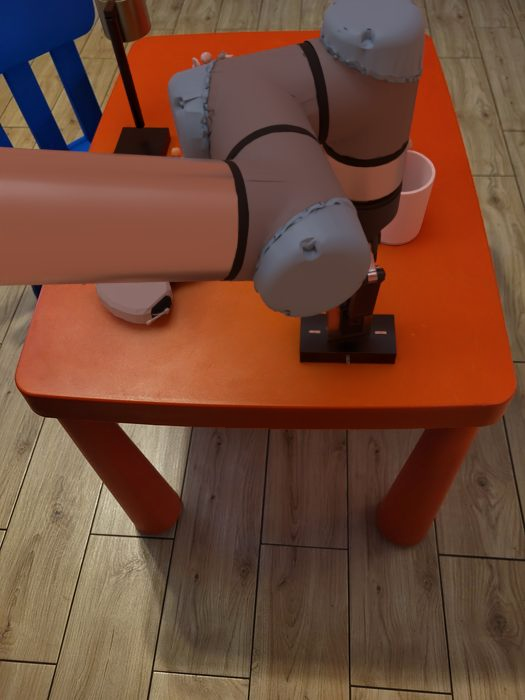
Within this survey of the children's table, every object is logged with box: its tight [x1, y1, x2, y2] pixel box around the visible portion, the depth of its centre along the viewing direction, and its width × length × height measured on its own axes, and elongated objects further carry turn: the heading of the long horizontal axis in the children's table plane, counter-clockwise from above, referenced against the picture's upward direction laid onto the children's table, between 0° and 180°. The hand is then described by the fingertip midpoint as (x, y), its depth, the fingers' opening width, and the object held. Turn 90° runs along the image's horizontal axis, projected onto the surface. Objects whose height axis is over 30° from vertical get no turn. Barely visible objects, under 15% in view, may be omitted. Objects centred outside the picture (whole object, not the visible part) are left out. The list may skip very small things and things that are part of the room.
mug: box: [380, 149, 436, 246], centre depth 85 cm, size 11×9×10 cm
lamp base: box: [113, 126, 172, 157], centre depth 99 cm, size 16×8×4 cm, turn 174°
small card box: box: [325, 306, 373, 341], centre depth 73 cm, size 6×2×9 cm, turn 99°
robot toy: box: [81, 282, 177, 326], centre depth 85 cm, size 12×4×15 cm
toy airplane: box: [191, 49, 235, 68], centre depth 109 cm, size 9×9×6 cm
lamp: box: [94, 0, 152, 129], centre depth 95 cm, size 10×7×19 cm
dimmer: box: [299, 313, 398, 366], centre depth 78 cm, size 12×10×3 cm
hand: (348, 323), depth 76 cm, fingers closed on small card box, 2 cm apart
